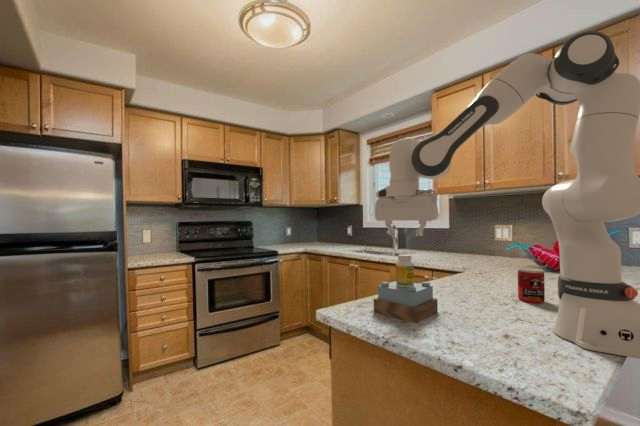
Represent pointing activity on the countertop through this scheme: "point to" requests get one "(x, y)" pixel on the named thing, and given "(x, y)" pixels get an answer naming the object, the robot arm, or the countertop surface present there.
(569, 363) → the countertop surface
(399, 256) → the supplement bottle
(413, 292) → the top brick
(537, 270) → the canned food
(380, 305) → the base brick
